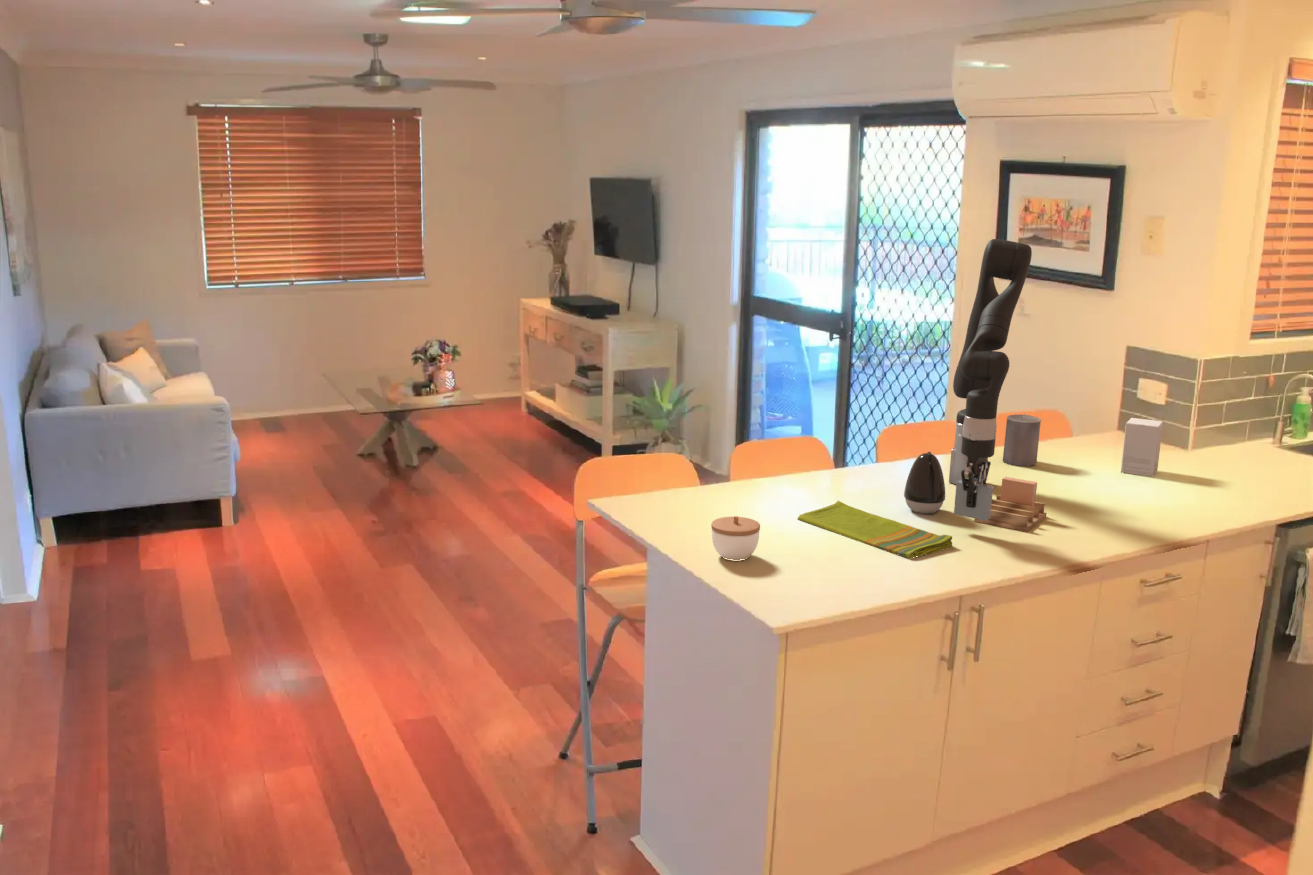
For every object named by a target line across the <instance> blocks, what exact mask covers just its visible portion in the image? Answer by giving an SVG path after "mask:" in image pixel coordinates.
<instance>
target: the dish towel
mask: <svg viewBox="0 0 1313 875" xmlns="http://www.w3.org/2000/svg"><path fill="white" fill-rule="evenodd" d="M797 520H798V521H800V522H803V521H804V523H806V524H809V525H812V526H816V527H818V528H821V529H824V530H826V529H827V530H826V531H829V530H830V532H832V533H835V534H837V535H838V534H839V535H840V534H841V536H844V537H846V538H849V537H850V538H849V539H852V540H855V541H857V542H860V543H863V544H866V545H868V546H872V547H874V546H875V547H874V548H876V549H880V550H882V551H883V550H884V551H885V550H886V552H888V551H889V553H891V552H892V553H891V554H893V555H897V554H899V555H898V556H900V555H902V556H901V557H903V556H905V557H904V558H907V559H908V558H913V557H916V556H921V555H924V556H926V555H925V554H928V555H931V554H934V553H937V551H938V552H940V550H941V551H944V550H947V549H950V548H952V547H953V542H952V540H953V535H948V534H941V535H938V534H935V533H933V532H929V531H926V530H923V529H921V528H916V527H914V526H912V525H908V524H905V523H901V522H899V521H896V520H894V519H890V518H887V517H882V516H880V515H876V514H873V513H870V512H866V511H864V510H861V509H859V508H855V507H854V506H851V505H848V504H846V503H844V502H842V501H840V500H837V501H836V502H835V503H834V504H830V505H827V506H825V507H821V508H818V509H815V510H811V511H807V512H804V513H801V514H800V515H799V516H798V517H797ZM943 549H944V550H943ZM921 557H922V556H921Z"/></svg>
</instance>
